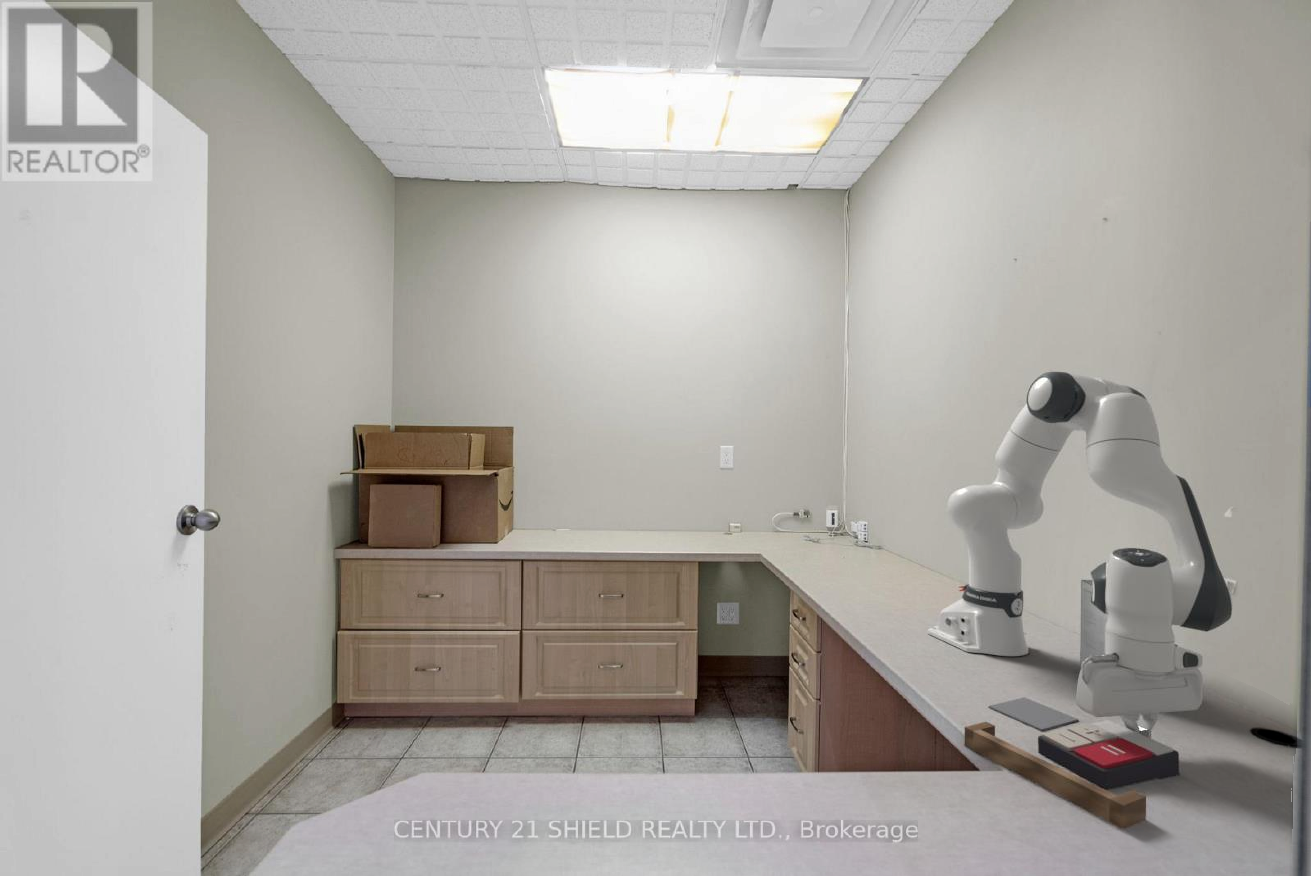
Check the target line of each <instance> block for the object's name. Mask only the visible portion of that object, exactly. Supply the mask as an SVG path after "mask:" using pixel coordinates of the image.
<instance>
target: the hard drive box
mask: <svg viewBox="0 0 1311 876" xmlns="http://www.w3.org/2000/svg"><path fill="white" fill-rule="evenodd" d="M1080 590H1081V591H1080V652H1079V654H1080V657H1079V658H1080V661H1079V662H1080V665H1079V666H1080V669H1079V670H1081V665H1082V663H1083V662H1084V661H1085V660H1086V659H1088V658H1089V656H1090V655H1103V654H1105V625H1106V623H1107V620H1108V614H1104V613H1103V612H1102V611H1100V610H1099V609H1098V608H1097V607H1096V606H1094V605H1093V604H1092V603H1091V595H1092V579H1081V580H1080ZM1089 662H1091V661H1089Z"/></svg>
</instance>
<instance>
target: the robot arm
mask: <svg viewBox="0 0 1311 876" xmlns="http://www.w3.org/2000/svg"><path fill="white" fill-rule="evenodd" d="M1026 394H1027V395H1026V403H1025V405H1024V406H1023V407H1022V409H1021V410H1020V412H1018V414H1017V416H1016V417H1015V418H1014V420H1013V422H1012V424H1011V426H1010V427H1009V429H1008V430H1007V433H1006V434H1005V436H1004V438H1003V440H1002V442H1001V443H1000V445H999V447H998V450H997V451H996V453H995V456H994V459H995V463H996V465H997V467H998V471H997V476H996V478H995V480H994V481H993V482H992V483H990V484H972V485H969V486H965V487H962V488H960V489H957V490H954V492H952V493H951V495H950V496H949V498H948V499H947V504H946V509H947V514H948V517H949V519H950V521H951V522H952V523H953V524H954V525H955V526H956V527H957V528H958V530H959V531H960V532H961V534H962V537H963V540H964V543H965V545H966V550H967V555H968V556H967V558H968V583H967V584H965V585H961V586H958V588H960V589H958V591H959V592H963V594H962V596H961V598H960V599H958V600H957V601H955V602H954V603H953V602H952V603H951V604H949V605H948V606H946V607H944V608H943V609H942V610H941V611H940V614H939V615H938V619H937V620H938V621H937V625H934V626H931V627H929V628H928V629H927V634H928V635H931V637H932V636H933V637H935V638H936V639H939V640H941V641H942V642H945V643H948V644H949V645H952V646H953V647H956V648H958V649H960V650H962V651H964V652H967V653H975V654H987V655H994V656H999V657H1001V656H1002V657H1020V656H1025V655H1027V654H1029V647H1028V645H1027V641H1026V637H1025V631H1024V624H1023V610H1024V591H1023V590H1022V558H1021V556H1020V555H1019V553H1017V551H1016V550H1014V548H1013V547H1012V545H1011V542H1010V537H1009V535H1008V534H1009V533H1008V531H1009V530H1018V529H1020V530H1021V529H1023V528H1025V527H1028V526H1030V525H1034V523H1037V522H1038V521H1039V520H1040V519H1041V517H1042V515H1043V514H1044V513H1043V512H1044V501H1043V499H1042V497H1041V493H1042V489H1043V485H1044V481H1045V479H1046V477H1047V474H1048V473H1049V471H1050V469H1051V467H1052V466H1053V464H1054V462H1055V461H1056V459H1057V457H1058V456H1059V454H1060V452H1061V451H1062V449H1063V447H1064V445H1065V444H1066V442H1067V440H1068V438H1069V437H1070V435H1071V434H1072V432H1074V431H1078V432H1079V431H1080V432H1081V431H1083V432H1085V435H1086V436H1085V437H1086V438H1085V439H1086V440H1085V442H1086V443H1085V447H1086V448H1085V449H1086V450H1085V452H1086V463H1087V465H1086V466H1087V469H1088V474H1089V477H1090V478H1091V480H1092V481H1093V482H1094V483H1095V484H1096V485H1097V487H1098V488H1100V489H1102V490H1103V491H1104V492H1106V493H1108V494H1110V495H1112V496H1114V497H1116V498H1119V499H1120V500H1124V501H1127V502H1131V503H1133V504H1135V505H1140V506H1142V507H1144V508H1147V509H1149V510H1151V511H1154V512H1155V513H1158V514H1159V515H1160V516H1162V517H1163V518H1165V520H1166V521H1167V522H1168V524H1169V526H1170V528H1171V530H1172V534H1173V537H1174V541H1175V544H1176V548H1177V551H1178V554H1179V557H1180V560H1181V563H1182V565H1181V566H1171V563H1170V560H1169V558H1168V557H1166V555H1163V554H1162V553H1160V552H1157V551H1153V550H1150V549H1147V548H1137V547H1125V548H1123V547H1122V548H1119V549H1118V548H1117V549H1115V550H1113V551H1112V552H1110V554H1109V559H1108V561H1107V562H1106V561H1105V562H1103V563H1100V565H1098V566H1096V567H1095V568H1094V569H1093V570H1091V571H1090V575H1091V580H1092V595H1091V603H1092V604H1093V605H1094V606H1096V607H1097V608H1098V609H1099V610H1100V611H1102V612H1103V613H1104V614H1108V620H1107V623H1106V625H1105V654H1103V655H1090V656H1089V658H1088V659H1086V660H1085V661H1084V662H1083V663H1082V665H1081V670H1080V669H1079V670H1080V671H1079V674H1078V680H1077V686H1076V688H1077V689H1076V697H1075V698H1076V699H1075V700H1076V701H1075V702H1076V704H1077V706H1078V708H1079V709H1080V710H1081V711H1083V712H1085V713H1086V714H1088V715H1091V716H1093V717H1095V718H1108V717H1120V719H1121V720H1122V722H1123V724H1124V727H1125V728H1128V729H1130V730H1132V731H1134V732H1137V733H1139V734H1141V735H1143V736H1146V737H1148V738H1150V739H1152V730H1154V729H1153V728H1154V727H1155V725H1156V723H1157V722H1158V720H1159V713H1161V714H1162V713H1172V712H1173V713H1175V712H1186V711H1196V710H1198V709H1199V708H1200V706H1201V705H1202V703H1203V693H1204V687H1203V685H1204V683H1203V682H1204V681H1203V675H1202V672H1201V669H1199V668H1201V667H1202V666H1203V663H1204V661H1203V655H1202V654H1200V653H1198V652H1196V651H1193V650H1191V649H1188V648H1185V647H1182V646H1179V645H1178V644H1176V638H1175V637H1176V636H1175V633H1174V630H1173V626H1180V627H1181V628H1185V629H1190V630H1197V631H1202V632H1206V633H1207V632H1210V631H1213V630H1215V629H1218V628H1219V627H1221V626H1222V625H1224V624H1225V623H1227V622H1228V621H1229V620H1231V618H1232V613H1233V598H1232V595H1231V591H1230V590H1229V588H1228V586H1227V582H1226V579H1225V577H1224V575H1223V574H1222V571H1221V570H1220V566H1219V565H1218V562H1217V559H1216V556H1215V554H1214V550H1213V548H1212V544H1211V540H1210V539H1209V538H1210V537H1209V535H1208V532H1207V529H1206V526H1205V522H1204V520H1203V516H1202V514H1201V510H1200V508H1199V506H1198V503H1197V500H1196V498H1195V495H1194V493H1193V489H1192V488H1191V486H1190V485H1189V483H1188V481H1187V480H1186V479H1185V478H1184V477H1182V476H1179V475H1177V474H1175V473H1174V472H1173V471H1172V470H1171V469H1170V468H1169V467H1168V465H1167V463H1166V462H1165V460H1164V458H1163V456H1162V452H1161V451H1162V450H1161V442H1160V436H1159V429H1158V425H1157V422H1156V421H1157V420H1156V417H1155V415H1154V411H1153V409H1152V406H1151V404H1150V403H1149V401H1148V400H1147V398H1146V396H1145V395H1144V394H1142V392H1140V391H1138V390H1137V389H1135V388H1132V387H1130V386H1127V385H1123V384H1122V385H1120V384H1118V383H1116V382H1112V381H1111V380H1110V381H1109V380H1107V379H1104V378H1100V377H1090V376H1084V375H1078V374H1071V373H1068V372H1065V371H1048V372H1044V373H1042V374H1041V375H1039V376H1038V377H1037V378H1036V379H1035V380H1034V381H1033V382H1032V383H1031V385H1030V386H1029V388H1028V391H1027V393H1026ZM1089 661H1091V662H1089ZM1137 721H1138V722H1137Z"/></svg>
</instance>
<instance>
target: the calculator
mask: <svg viewBox="0 0 1311 876" xmlns="http://www.w3.org/2000/svg"><path fill="white" fill-rule="evenodd" d="M1037 750H1038V754H1040V755H1041V756H1043V757H1045V758H1046V759H1048V760H1049V761H1052V762H1054V763H1056V764H1057V765H1059V766H1061V767H1063V768H1065V769H1066V770H1068V771H1070V772H1071V773H1072V774H1073V773H1074V775H1076V776H1078V777H1080V778H1081V779H1083V780H1085V781H1087V782H1089V783H1092V784H1094V785H1096V786H1098V787H1100V788H1102V789H1104V790H1106V791H1108V790H1112V789H1113V790H1114V789H1117V788H1122V787H1127V786H1132V785H1135V784H1139V783H1143V782H1147V781H1151V780H1154V779H1160V780H1163V779H1167V778H1172V777H1177V776H1180V761H1179V760H1180V753H1179V751H1177V750H1176V749H1174V748H1173V747H1170V746H1169V745H1166V744H1163V743H1161V742H1159V741H1157V740H1154V739H1152V738H1151V739H1150V738H1148V737H1146V736H1143V735H1141V734H1139V733H1137V732H1134V731H1132V730H1130V729H1128V728H1126V726H1122V725H1120V724H1118V723H1116V722H1114V721H1111V720H1109V719H1105V720H1100V721H1097V722H1093V723H1090V722H1089V723H1082V724H1077V725H1075V726H1070V727H1067V729H1066V728H1062V729H1061V728H1060V729H1057V730H1056V729H1055V730H1052V731H1047V732H1044V733H1042V734H1041V735H1038V736H1037Z"/></svg>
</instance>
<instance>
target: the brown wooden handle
mask: <svg viewBox="0 0 1311 876" xmlns="http://www.w3.org/2000/svg"><path fill="white" fill-rule="evenodd" d="M963 745H964V747H966V748H968V749H970V750H972V751H974V752H976V753H977V754H979V755H981V756H984V757H985V758H987V759H989V760H991V761H992V762H995V763H997V764H999V765H1001V766H1002V767H1004V768H1006V769H1008V770H1009V771H1012V772H1013V773H1016V774H1018V775H1020V776H1022V777H1023V778H1025V779H1027V780H1029V781H1030V782H1033V783H1034V784H1037V785H1039V787H1040V786H1041V787H1042V788H1043V789H1046V790H1048V791H1050V792H1052V793H1054V794H1056V795H1057V796H1060V797H1061V798H1063V799H1065V800H1067V801H1068V802H1070V803H1072V804H1075V805H1076V806H1079V807H1081V808H1083V809H1084V810H1086V811H1088V812H1089V813H1092V814H1094V815H1096V816H1097V817H1099V818H1101V819H1104V820H1105V821H1107V822H1109V823H1111V824H1112V825H1115V826H1117V827H1118V828H1120V829H1122V830H1125V829H1127V828H1129V827H1131V826H1134V825H1136V824H1138V823H1142V822H1143V821H1144V822H1145V820H1147V796H1146V795H1144V794H1142V793H1140V792H1138V791H1136V790H1133V789H1132V790H1130V791H1126V792H1124V793H1122V794H1118V795H1116V794H1114V793H1112V792H1110V791H1108V790H1105V789H1102V788H1100V787H1099V786H1097V785H1095V784H1093V783H1091V782H1090V781H1088V780H1086V779H1084V778H1082V777H1080V776H1078V775H1076V774H1073V773H1072V772H1069V771H1067V770H1065V769H1062V768H1061V767H1059V766H1057V765H1054V764H1052V763H1050V762H1048V761H1046V760H1044V759H1042V758H1040V757H1038V756H1036V755H1034V754H1032V753H1030V752H1028V751H1026V750H1023V749H1022V748H1019V747H1017V746H1015V745H1014V744H1011V743H1009V742H1007V741H1005V740H1004V739H1001V738H999V737H997V736H996V725H994V724H992V723H990V722H988V721H983V722H979V723H975V724H972V725H971V724H970V725H967V726H964V744H963Z"/></svg>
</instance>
